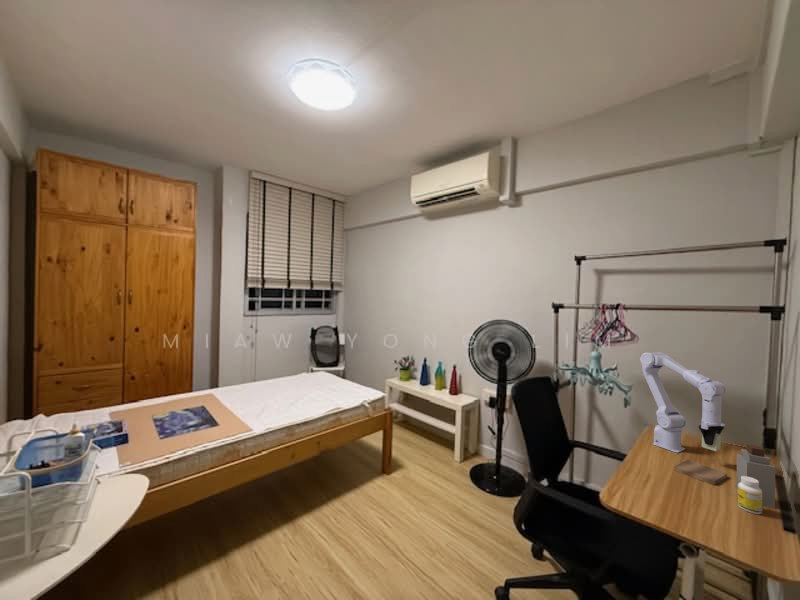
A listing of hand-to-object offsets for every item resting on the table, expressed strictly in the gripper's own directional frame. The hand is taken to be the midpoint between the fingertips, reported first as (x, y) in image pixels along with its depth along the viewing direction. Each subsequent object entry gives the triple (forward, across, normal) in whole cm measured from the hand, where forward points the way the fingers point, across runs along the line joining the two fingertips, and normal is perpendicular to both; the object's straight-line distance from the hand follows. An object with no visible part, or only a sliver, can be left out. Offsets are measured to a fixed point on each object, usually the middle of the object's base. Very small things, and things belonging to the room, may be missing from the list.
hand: (711, 443), depth 134 cm
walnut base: (+9, -13, -1) cm, 16 cm away
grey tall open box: (+9, -18, -17) cm, 26 cm away
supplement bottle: (+9, -27, -18) cm, 34 cm away
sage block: (+2, 0, 0) cm, 2 cm away
